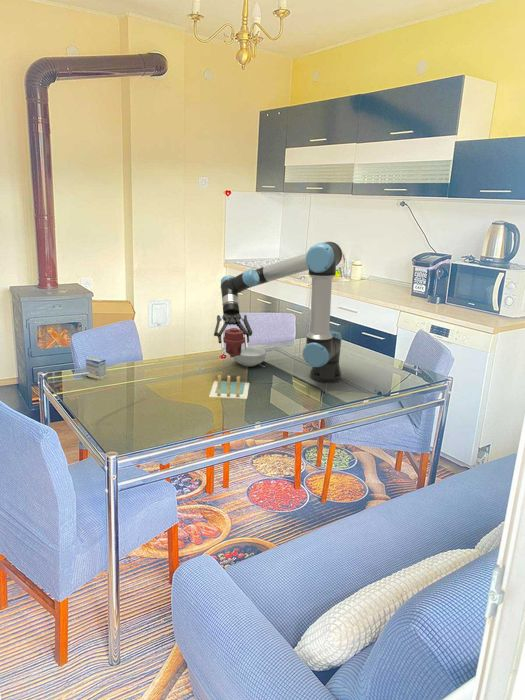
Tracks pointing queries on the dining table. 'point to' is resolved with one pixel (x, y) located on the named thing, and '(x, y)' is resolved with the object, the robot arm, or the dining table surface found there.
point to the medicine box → (96, 366)
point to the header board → (243, 390)
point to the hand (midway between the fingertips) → (234, 349)
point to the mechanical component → (233, 341)
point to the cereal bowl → (250, 356)
